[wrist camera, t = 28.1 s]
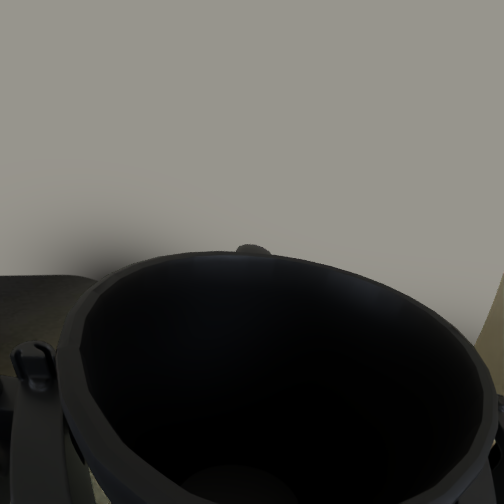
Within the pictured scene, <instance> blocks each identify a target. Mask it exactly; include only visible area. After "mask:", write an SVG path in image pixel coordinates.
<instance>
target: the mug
mask: <svg viewBox="0 0 504 504" xmlns="http://www.w3.org/2000/svg"><path fill="white" fill-rule="evenodd" d="M56 370H57V379H58V387H59V395H60V401H61V407H62V410H63V412H64V415H65V417H66V420H67V422H68V424H69V427H70V429H71V431H72V433H73V436H74V438H75V440H76V442H77V444H78V446H79V448H80V450H81V452H82V454H83V456H84V458H85V460H86V462H87V464H88V466H89V468H90V470H91V472H92V473H93V475H94V477H95V479H96V480H97V482H98V484H99V485H100V487H101V488H102V490H103V491H104V493H105V494H106V496H107V497H108V499H109V500H110V502H111V503H112V504H454V503H455V502H456V501H457V500H458V499H459V498H460V497H461V496H462V495H463V494H464V492H465V491H466V490H467V489H468V488H469V487H470V485H471V484H472V483H473V482H474V481H475V479H476V478H477V477H478V476H479V474H480V473H481V471H482V469H483V467H484V465H485V463H486V460H487V458H488V455H489V452H490V450H491V447H492V444H493V441H494V439H495V436H496V433H497V429H498V396H497V392H496V389H495V386H494V383H493V380H492V377H491V374H490V371H489V369H488V367H487V366H486V364H485V363H484V361H483V359H482V358H481V356H480V355H479V353H478V352H477V350H476V349H475V347H474V346H473V345H472V344H471V343H470V342H469V341H468V340H467V339H466V338H465V337H464V336H463V335H462V334H461V333H460V332H459V331H458V329H457V328H455V327H454V326H453V325H452V324H450V323H449V322H448V321H446V320H445V319H444V318H443V317H441V316H440V315H438V314H437V313H436V312H435V311H433V310H431V309H430V308H428V307H426V306H425V305H423V304H421V303H420V302H418V301H416V300H415V299H413V298H411V297H409V296H407V295H405V294H403V293H401V292H399V291H397V290H395V289H393V288H391V287H389V286H386V285H384V284H382V283H379V282H377V281H374V280H371V279H369V278H366V277H363V276H361V275H358V274H354V273H352V272H348V271H345V270H342V269H338V268H335V267H332V266H328V265H324V264H319V263H315V262H310V261H306V260H302V259H296V258H290V257H284V256H277V255H271V254H270V252H269V251H267V250H266V249H264V248H263V247H260V246H257V245H250V244H249V245H248V244H245V245H242V246H239V247H238V249H237V250H236V252H227V251H226V252H224V251H210V252H190V253H181V254H174V255H167V256H160V257H156V258H152V259H148V260H145V261H141V262H137V263H133V264H131V265H128V266H126V267H124V268H122V269H119V270H117V271H115V272H113V273H111V274H108V275H106V276H105V277H104V278H102V279H101V280H100V281H98V282H97V283H95V284H94V285H93V286H91V287H90V288H89V289H87V290H86V291H85V292H84V293H83V294H82V295H81V297H80V298H79V299H78V301H77V302H76V303H75V305H74V306H73V307H72V309H71V310H70V311H69V313H68V314H67V316H66V319H65V322H64V325H63V329H62V332H61V335H60V339H59V343H58V346H57V351H56Z"/></svg>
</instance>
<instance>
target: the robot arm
mask: <svg viewBox="0 0 504 504" xmlns="http://www.w3.org/2000/svg"><path fill="white" fill-rule="evenodd" d="M10 358H11V361H12V364H13V367H14V370H15V372H16V375H17V377H11V376H4V375H0V504H10V502H11V504H96V501H95V497H94V492H93V487H92V483H91V477H90V472H89V466H88V464H87V462H86V460H85V458H84V456H83V454H82V452H81V450H80V448H79V446H78V444H77V442H76V440H75V438H74V436H73V433H72V431H71V429H70V427H69V424H68V422H67V420H66V417H65V415H64V412H63V410H62V407H61V401H60V395H59V387H58V379H57V370H56V352H55V350H54V348H53V347H52V346H51V345H50V344H48V343H46V342H43V341H37V340H34V341H26V342H24V343H21V344H19V345H18V346H16V347H15V348H14V349H13V350H12V352H11V353H10ZM497 396H498V429H497V433H496V436H495V439H494V440H495V441H496V443H495V445H494V446H493V447H492V448H491V450H490V452H489V455H488V458H487V460H486V463H485V465H484V467H483V469H482V471H481V473H480V474H479V476H478V477H477V478H476V479H475V481H474V482H473V483H472V484H471V485H470V487H469V488H468V489H467V490H466V491H465V492H464V494H463V495H462V496H461V497H460V498H459V499H458V500H457V501H456V502H455V503H454V504H504V396H502V395H500V394H497Z"/></svg>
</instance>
